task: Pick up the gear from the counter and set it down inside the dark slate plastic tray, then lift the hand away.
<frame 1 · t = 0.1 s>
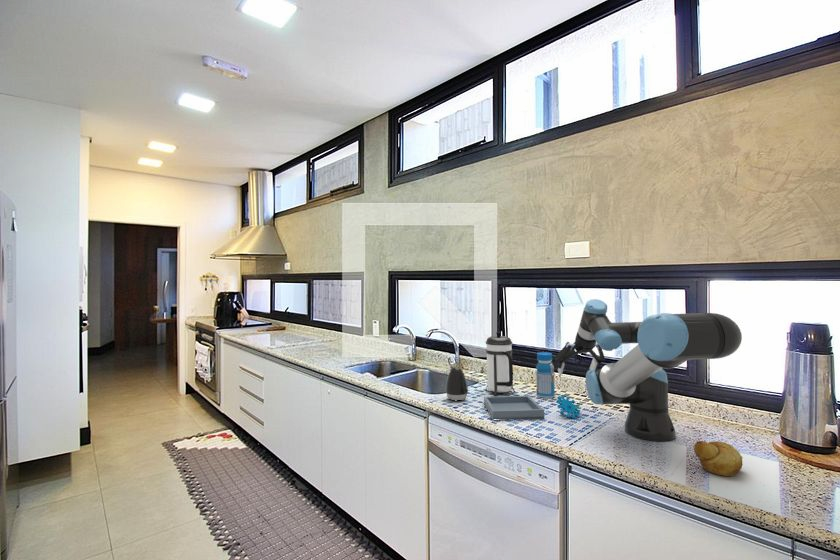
hand: (575, 371, 164), 15 cm above the worktop, tool tilted 35°, fingers open, 13 cm apart
coffee press: (502, 393, 190), on the worktop
pump dispenser: (456, 400, 181), on the worktop
tray: (512, 411, 162), on the worktop
gear: (569, 416, 155), on the worktop
bread roll: (722, 470, 108), on the worktop
beverage bottle: (545, 396, 183), on the worktop
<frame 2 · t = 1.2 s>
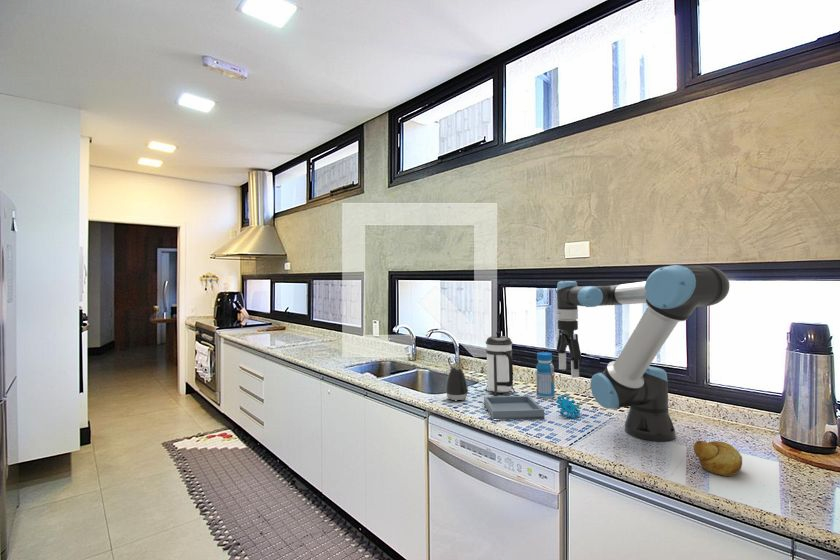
hand: (568, 373, 156), 17 cm above the worktop, tool pointing down, fingers open, 13 cm apart
nothing on the worktop moved.
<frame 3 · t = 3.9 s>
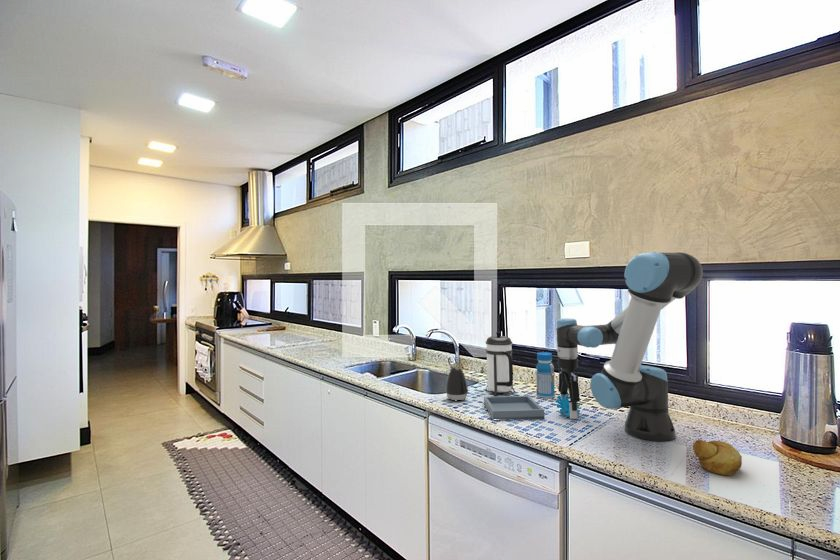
hand: (569, 414, 155), 0 cm above the worktop, tool pointing down, fingers closed on gear, 8 cm apart
gear: (568, 416, 155), on the worktop, touching gripper
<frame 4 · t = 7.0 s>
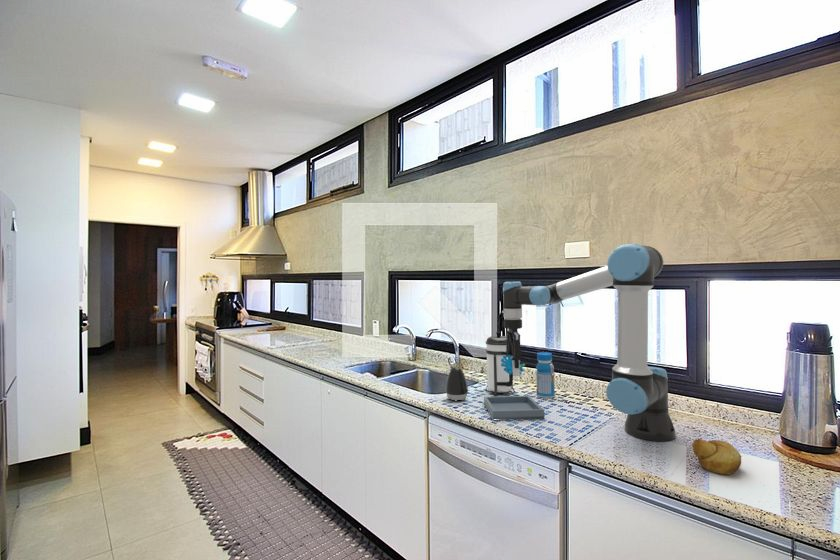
hand: (513, 373, 162), 16 cm above the worktop, tool pointing down, fingers closed on gear, 8 cm apart
gear: (513, 374, 162), point 15 cm above the worktop, touching gripper
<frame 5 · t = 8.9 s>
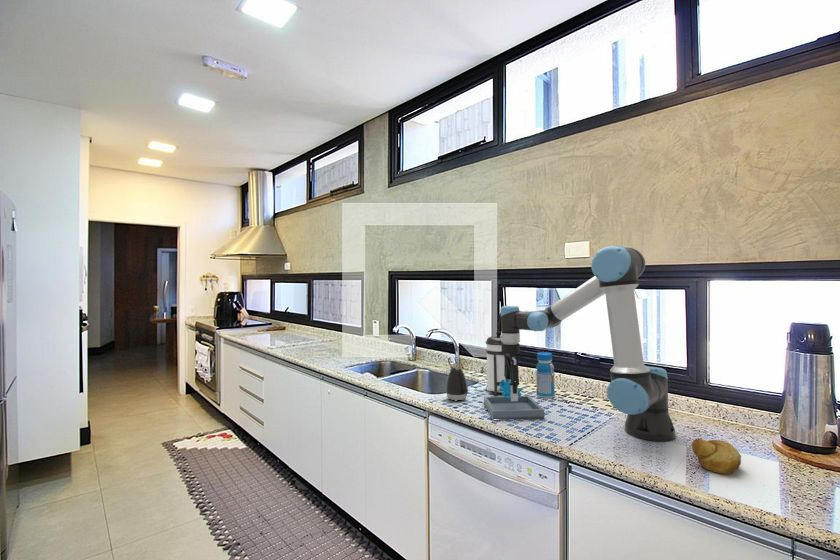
hand: (511, 397, 162), 6 cm above the worktop, tool pointing down, fingers closed on gear, 8 cm apart
gear: (511, 399, 162), point 5 cm above the worktop, touching gripper
when the fingers open (3 cm above the worktop, at t = 10.3 s): gear drops 2 cm, resting on tray.
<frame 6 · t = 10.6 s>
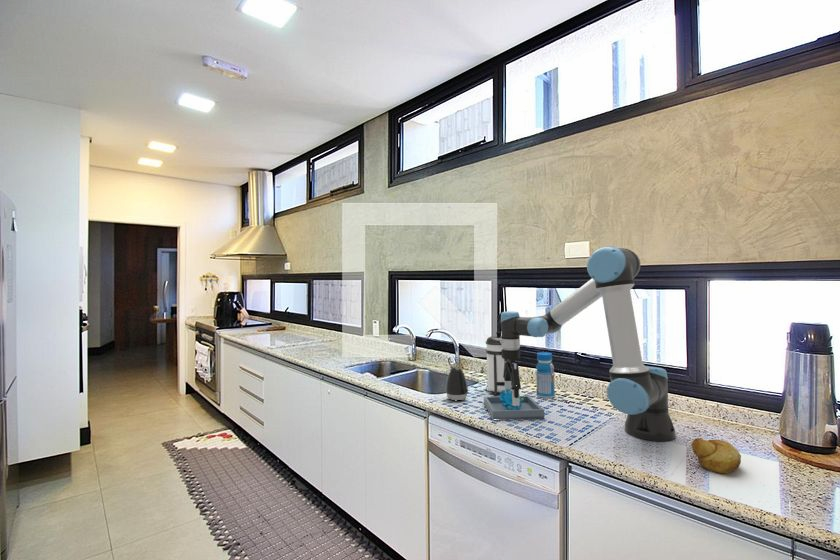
hand: (512, 400, 162), 4 cm above the worktop, tool pointing down, fingers open, 12 cm apart
gear: (512, 409, 162), point 1 cm above the worktop, touching tray
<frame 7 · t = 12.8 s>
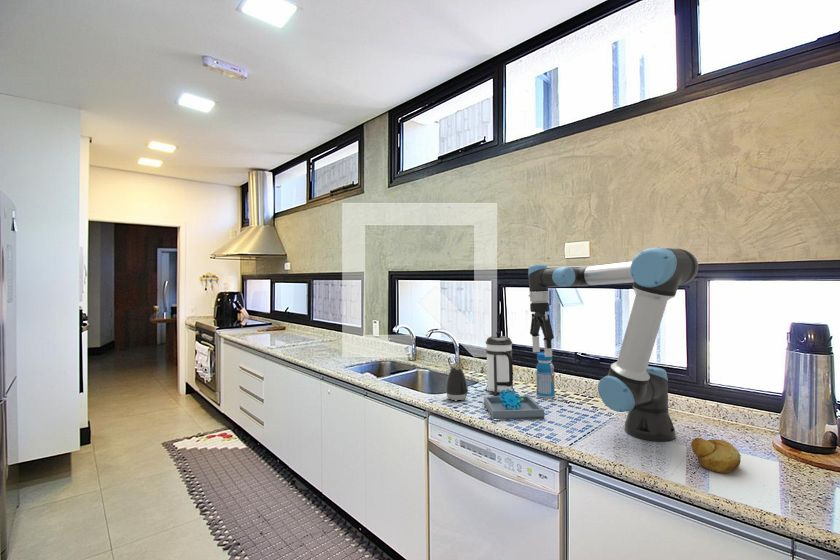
hand: (542, 354, 160), 24 cm above the worktop, tool pointing down, fingers open, 13 cm apart
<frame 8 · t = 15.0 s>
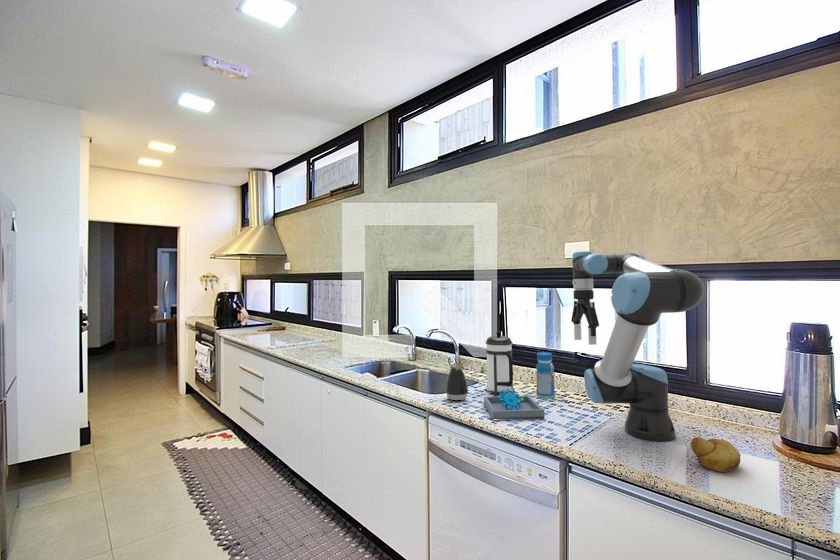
hand: (584, 342, 158), 29 cm above the worktop, tool pointing down, fingers open, 13 cm apart
at the end: gear inside the target area on the tray (0.3 cm from its centre), point 0.8 cm above the tray's base; the gripper is holding nothing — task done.
